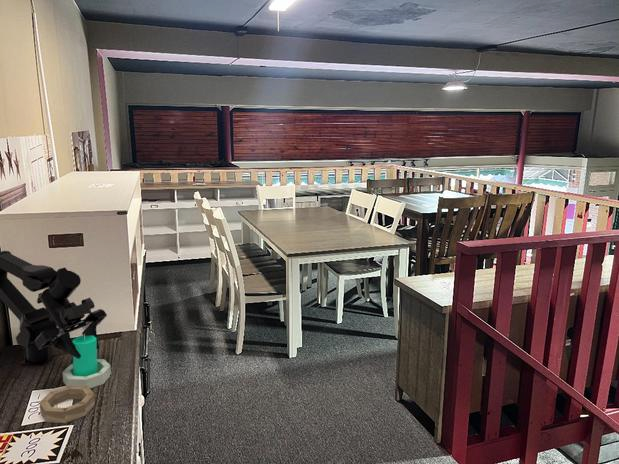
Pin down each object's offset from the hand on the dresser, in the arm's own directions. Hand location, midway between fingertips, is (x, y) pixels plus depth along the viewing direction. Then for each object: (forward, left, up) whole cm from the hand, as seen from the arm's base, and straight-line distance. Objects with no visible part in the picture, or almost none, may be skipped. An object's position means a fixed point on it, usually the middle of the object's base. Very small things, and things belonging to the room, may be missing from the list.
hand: (88, 353), depth 122 cm
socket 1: (-1, 0, -8) cm, 8 cm away
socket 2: (+1, -14, -8) cm, 16 cm away
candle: (-1, 0, -7) cm, 7 cm away
